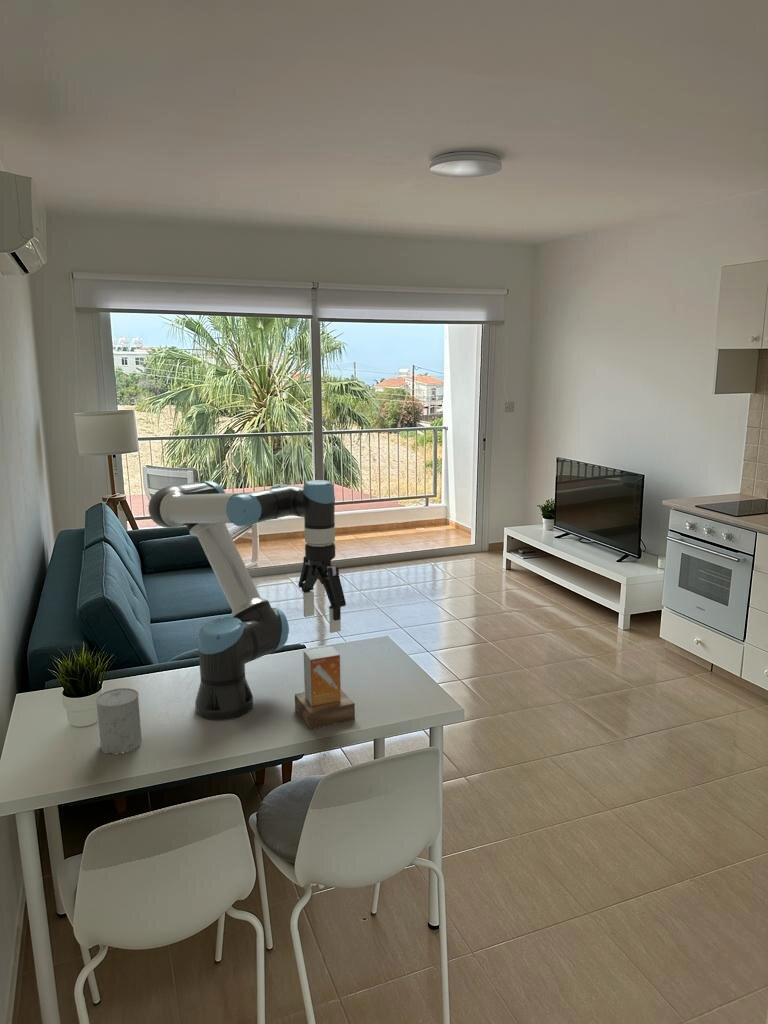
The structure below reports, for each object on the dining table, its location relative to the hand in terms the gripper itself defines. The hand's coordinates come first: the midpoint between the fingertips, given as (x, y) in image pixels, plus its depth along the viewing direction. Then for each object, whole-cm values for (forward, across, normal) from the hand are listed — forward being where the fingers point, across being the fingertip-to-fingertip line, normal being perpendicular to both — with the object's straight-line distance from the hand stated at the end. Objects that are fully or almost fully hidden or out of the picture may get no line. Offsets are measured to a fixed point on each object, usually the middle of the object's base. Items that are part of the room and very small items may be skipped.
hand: (321, 623), depth 186 cm
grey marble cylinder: (+26, +15, +48) cm, 56 cm away
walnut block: (+26, 0, 0) cm, 26 cm away
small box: (+21, 0, 0) cm, 21 cm away
